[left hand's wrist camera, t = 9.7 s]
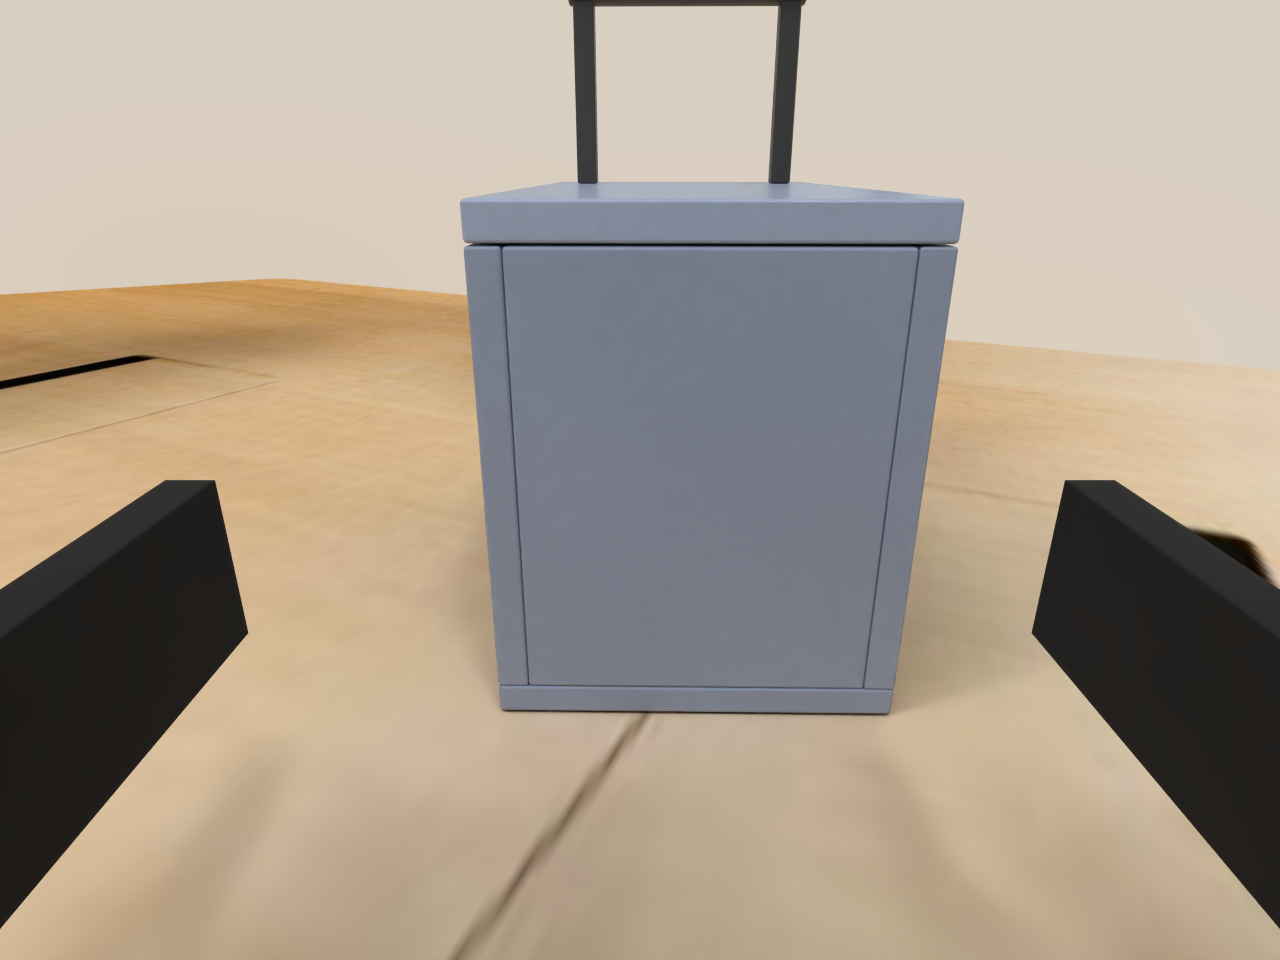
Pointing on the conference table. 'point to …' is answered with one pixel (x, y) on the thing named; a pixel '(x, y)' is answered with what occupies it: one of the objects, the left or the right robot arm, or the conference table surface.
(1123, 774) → the conference table surface
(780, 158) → the lid
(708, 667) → the chest
